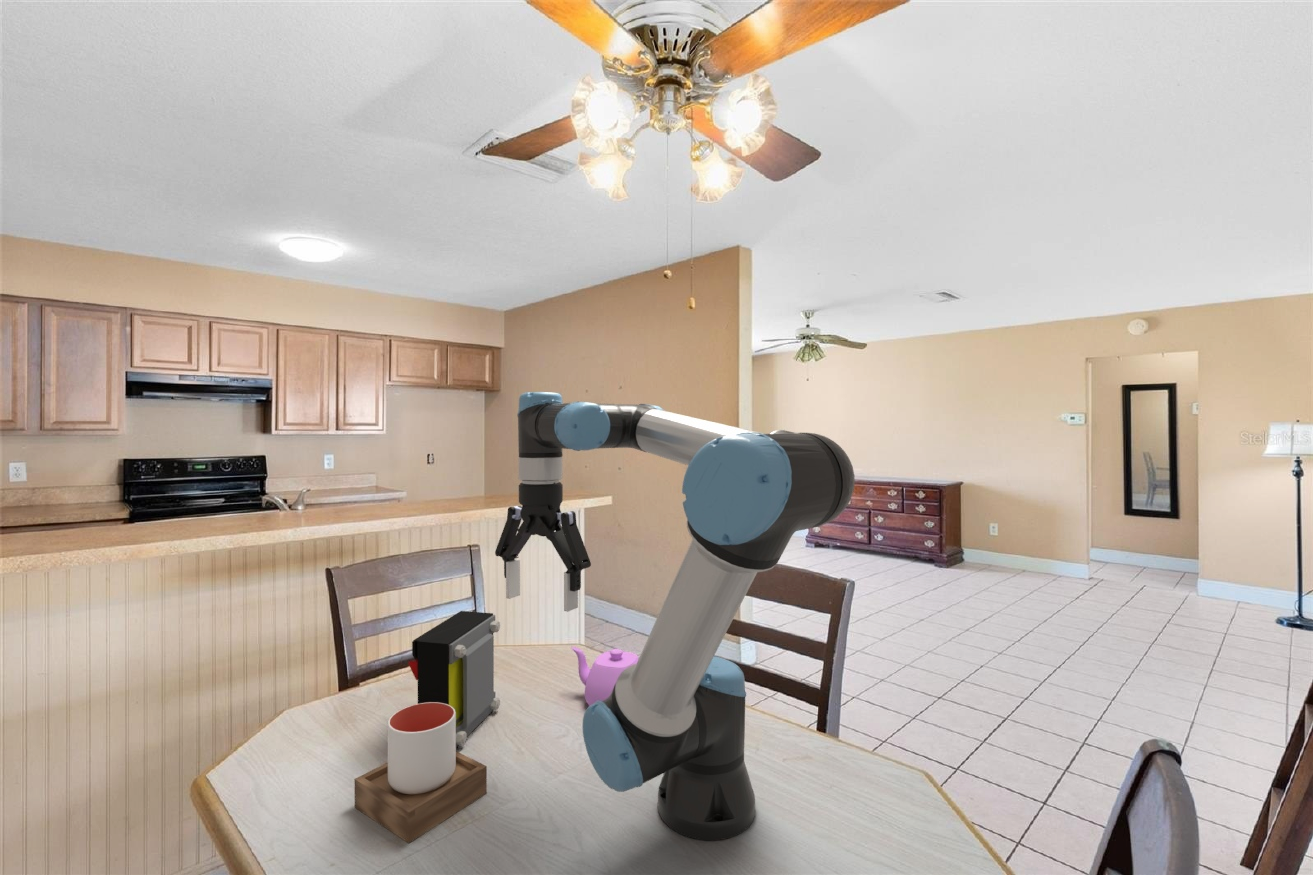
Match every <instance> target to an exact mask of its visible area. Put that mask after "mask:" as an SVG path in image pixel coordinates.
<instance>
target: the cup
mask: <svg viewBox="0 0 1313 875" xmlns="http://www.w3.org/2000/svg"><path fill="white" fill-rule="evenodd" d="M456 751H457V747H456V712H455V709H454V708H453V707H452V706H450V705H447V704H444V703H437V702H429V703H420V704H418V703H417V704H412V705H409V706H406V707H404V708H402V709H400V710H398V711H396V712H395V713H393V714H392V715H391V716H390V717H389V718H388V721H387V762H388V782H389V784H390V786H391V787H392V788H393V789H394V790H396V791H397V792H400V793H403V794H421V793H426V792H429V791H432V790H435V789H437V788H439V787H440V786H442V785H443V784H445V783H446V782H447V781H448V780H449V779H450V778H451V777H452V775H453V773H454V771H455V767H456Z"/></svg>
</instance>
